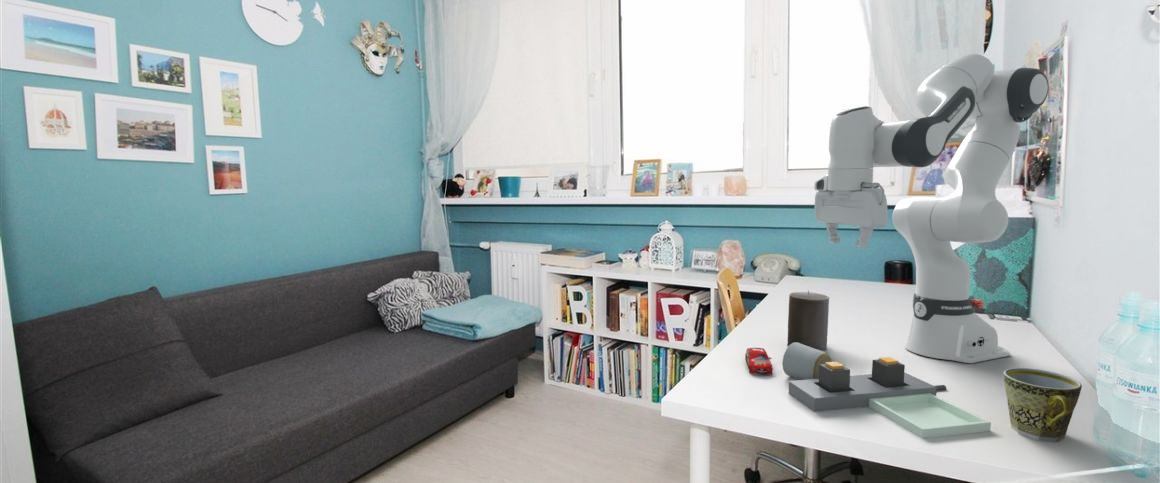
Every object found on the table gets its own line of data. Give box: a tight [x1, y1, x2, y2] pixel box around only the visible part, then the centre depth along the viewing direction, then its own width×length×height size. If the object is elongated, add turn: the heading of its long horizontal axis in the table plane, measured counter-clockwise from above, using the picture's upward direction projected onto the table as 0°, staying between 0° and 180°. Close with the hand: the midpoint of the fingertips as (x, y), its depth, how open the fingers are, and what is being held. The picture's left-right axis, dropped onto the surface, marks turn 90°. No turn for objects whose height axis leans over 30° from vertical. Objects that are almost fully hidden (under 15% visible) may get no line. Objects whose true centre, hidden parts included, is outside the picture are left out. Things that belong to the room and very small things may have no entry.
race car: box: [744, 347, 774, 376], centre depth 128 cm, size 13×5×4 cm, turn 167°
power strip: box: [788, 361, 947, 413], centre depth 109 cm, size 32×9×8 cm, turn 99°
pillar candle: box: [786, 290, 830, 352], centre depth 141 cm, size 10×10×15 cm
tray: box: [868, 393, 992, 439], centre depth 98 cm, size 13×13×2 cm
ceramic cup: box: [1003, 367, 1083, 443], centre depth 90 cm, size 13×10×10 cm
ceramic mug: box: [781, 342, 833, 380], centre depth 119 cm, size 11×8×8 cm
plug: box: [871, 356, 906, 388], centre depth 109 cm, size 4×4×7 cm
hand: (847, 245), depth 120 cm, fingers open, 8 cm apart
